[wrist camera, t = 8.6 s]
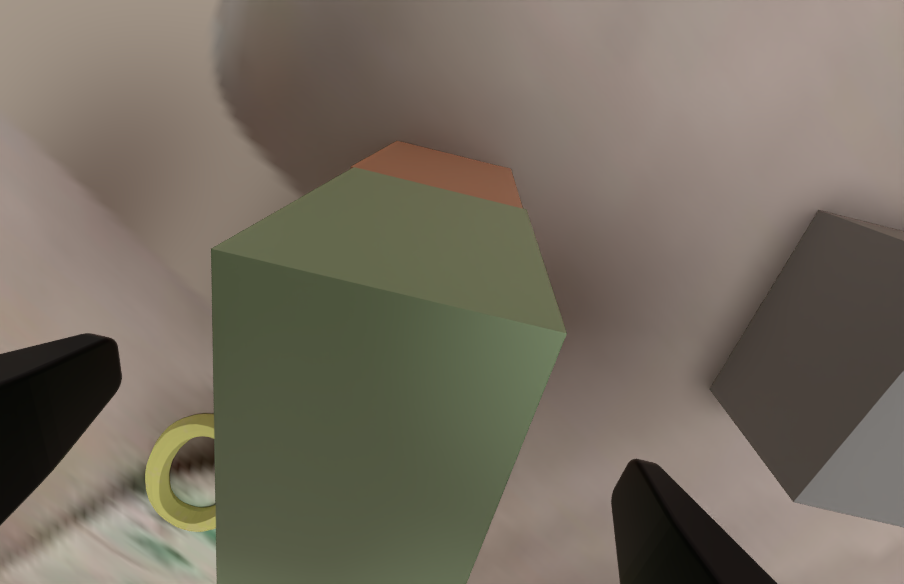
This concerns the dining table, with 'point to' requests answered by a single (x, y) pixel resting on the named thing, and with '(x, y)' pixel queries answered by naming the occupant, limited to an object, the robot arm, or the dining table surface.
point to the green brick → (373, 381)
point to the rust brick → (444, 172)
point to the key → (160, 480)
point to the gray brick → (828, 371)
